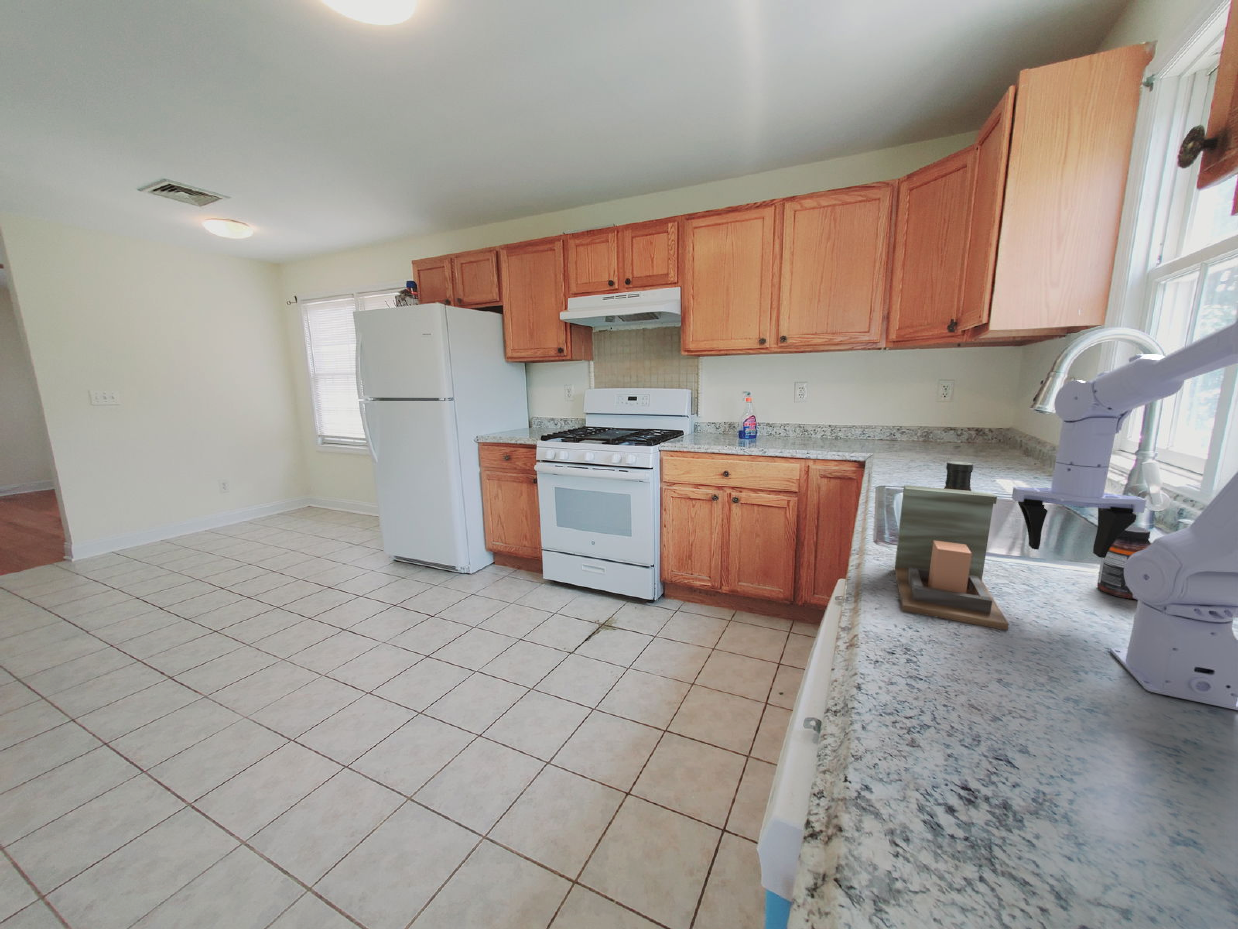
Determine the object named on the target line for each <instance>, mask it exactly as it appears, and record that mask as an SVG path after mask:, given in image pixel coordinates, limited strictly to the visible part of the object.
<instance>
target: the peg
mask: <svg viewBox="0 0 1238 929" xmlns="http://www.w3.org/2000/svg"><path fill="white" fill-rule="evenodd" d="M971 555H972V553H971V551H970V550H969V548H968V547H967V545H966V544H959V543H951V542H943V541H935V540H934V541H933V549H932V556H931V564H930V572H929V580H928V587H929V588H935V589H941V590H947V591H953V592H959V593H965V594H966V590H967V583H968V576H969V569H970V562H971Z"/></svg>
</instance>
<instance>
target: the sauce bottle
mask: <svg viewBox="0 0 1238 929" xmlns="http://www.w3.org/2000/svg"><path fill="white" fill-rule="evenodd" d="M945 469H946V477H945V478H946V480H945V485H944V487H943V489H954V490H965V491H972V488H971V479H972V473H973V470H974V464H973V463H971V462H967V461H966V462H965V461H947V462H946V467H945Z"/></svg>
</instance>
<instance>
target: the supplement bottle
mask: <svg viewBox="0 0 1238 929" xmlns="http://www.w3.org/2000/svg"><path fill="white" fill-rule="evenodd" d="M1150 537H1151V531H1150V530H1149V529H1148V528H1145V527H1141V526H1136V525H1132V524H1131V525H1130V526H1129V527H1128V528H1127V529H1125V530H1124V531H1123V532H1122V533H1121V534H1120V536H1119V537H1118V538H1117V539H1116V540H1115V542H1114V543H1113V545H1112V546H1111V548H1110V549H1109V551H1108V553H1107V555H1106V557H1105V558H1101V557H1100V564H1099V572H1098V577H1097V585H1096V586H1097V588H1098V590H1100V591H1103V592H1104V593H1106V592H1107V593H1106V594H1108V593H1109V595H1111V596H1115V597H1118V598H1124V599H1128V600H1136V599H1135V598H1133V593H1132V592H1131V591H1130V590H1129V588H1128V586H1127V584H1126V582H1125V578H1124V566H1125V563H1126V561H1127V559H1128V558H1129V557H1130V556H1131V555H1132V554H1134V553H1135V552H1138V551H1141V550H1144V549H1146V548H1147V547H1149V546H1150V545H1151V544H1152V542H1151V541H1150Z"/></svg>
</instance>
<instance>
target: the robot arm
mask: <svg viewBox="0 0 1238 929" xmlns="http://www.w3.org/2000/svg"><path fill="white" fill-rule="evenodd" d="M1235 364H1238V317H1237V318H1236V320H1234V321H1232V322H1229V323H1228V324H1226V325H1224V326H1223V327H1220V328H1219V329H1216V330H1215V331H1212V332H1211V333H1210V332H1209V334H1207V335H1205V336H1203V337H1201V338H1198V339H1196V340H1195V341H1192V342H1191V343H1189V344H1187V345H1185V346H1183V347H1181V348H1179V349H1177V350H1174V351H1173V352H1171V353H1169V354H1167V355H1162V354H1161V355H1160V354H1135V355H1133V356H1131V357H1129V358H1128V363H1125V364H1122V366H1119V367H1116V368H1114V369H1112V370H1110V371H1103V372H1100V373H1098V374H1097V377H1095V378H1092V379H1090V380H1088V381H1084V380H1079V379H1074V380H1072V379H1071V380H1070V381H1068V382H1067V383H1065V384H1064V385H1062V386H1061V387H1060V388H1059V390H1058V391H1057V392H1056V396H1055V398H1054V410H1055V413H1056V415H1057V416H1058V418H1060V419H1061V420H1062V422H1061V428H1060V432H1059V433H1060V434H1059V440H1058V446H1057V451H1056V458H1055V464H1054V468H1053V474H1052V479H1051V480H1052V481H1051V486H1050V487H1028V486H1027V487H1024V486H1013V487H1012V494H1011V499H1012V500H1014V501H1015V502H1017V503H1018V506H1019V508H1020V510H1021V513H1022V515H1023V518H1024V522H1025V526H1026V531H1027V535H1028V537H1027V538H1028V546H1029V547H1030V549H1032V550H1037V551H1038V550H1039V549H1040V546H1041V540H1042V530H1043V527H1044V523H1045V520H1046V516H1047V514H1048V510H1047V508H1045V506H1046V505H1045V504H1055V505H1064V506H1073V507H1074V506H1076V507H1085V508H1097V527H1096V528H1097V529H1096V533H1095V539H1094V541H1093V542H1094V543H1093V550H1092V553H1093V554H1094V555H1095V556H1096V557H1097V558H1100V559H1101V558H1105V557H1106V555H1107V553H1108V551H1109V549H1110V548H1111V546H1112V545H1113V543H1114V542H1115V540H1116V539H1117V538H1118V537H1119V536H1120V534H1121V533H1122V532H1123V531H1124V530H1125V529H1127V528H1128V527H1129V526H1130V525H1131V526H1132V525H1133V524H1134V523H1135V522H1136V520H1137V516H1138V515H1137V514H1135V513H1141V514H1143V513H1144V512H1145V508H1146V504H1147V499H1145V498H1143V497H1141V496H1135V495H1125V494H1115V493H1107V492H1105V490H1106V485H1107V478H1108V474H1109V468H1110V464H1111V458H1112V453H1113V447H1114V444H1115V443H1114V441H1115V437H1116V435H1117V434H1120V433H1119V432H1120V431H1122V429H1123V428H1122V427H1123V424H1124V421H1125V419H1127V418H1128V416H1130V415H1131V413H1132V412H1133V411H1134V409H1137V408H1139V407H1143V406H1145V405H1148V404H1150V403H1154V402H1157V401H1159V400H1162V399H1165V398H1168V397H1171V396H1172V395H1175V394H1177V393H1178V392H1179V391H1180V390H1181V389H1182V387H1183V385H1184V382H1185V381H1187V380H1189V379H1192V378H1195V377H1198V376H1201V375H1204V374H1208V373H1211V372H1214V371H1216V370H1219V369H1222V368H1225V367H1229V366H1232V365H1235ZM1151 543H1152V544H1151V545H1150V546H1149V547H1147V548H1146V549H1144V550H1141V551H1138V552H1135V553H1134V554H1132V555H1131V556H1130V557H1129V558H1128V559H1127V561H1126V563H1125V566H1124V578H1125V582H1126V584H1127V586H1128V588H1129V590H1130V591H1131V592H1132V593H1133V598H1135V599H1134V600H1137V605H1136V608H1135V609H1136V610H1135V614H1134V619H1133V622H1132V623H1133V624H1132V627H1131V633H1130V638H1129V640H1128V641H1129V642H1128V647H1127V649H1124V648H1118V647H1110V648H1109V651H1110V652H1111V654H1112V655H1113V656H1114V657H1115V658H1116V659H1117V660H1118V661H1119V662H1120V664H1122V666H1123V667H1124V668H1125V669H1126V670H1127V671H1128V672H1129V673H1130V674H1131V675H1132V676H1133V678H1135V680H1136V681H1137V682H1138V683H1139V684H1140V685H1141V686H1142V687H1143V688H1144V689H1145V690H1146V691H1148V692H1151V693H1154V694H1159V695H1164V696H1169V697H1173V698H1178V699H1183V700H1187V701H1192V702H1198V703H1203V704H1207V705H1211V706H1212V705H1213V706H1215V707H1220V708H1221V707H1222V708H1226V709H1230V710H1236V711H1238V639H1237V637H1236V635H1235V634H1234V631H1233V622H1234V620H1235V619H1237V618H1238V471H1237V472H1236V473H1235V474H1234V475H1233V476H1232V477H1231V478H1230V479H1229V481H1228V482H1227V483H1226V484H1225V485H1224V487H1223V488H1222V489H1221V490H1219V492H1218V494H1217V495H1215V497H1213V499H1212V500H1211V501H1210V503H1209V504H1208V505H1207V506H1206V507H1205V508H1204V509H1203V511H1202V512H1201V513H1200V514H1199V515H1198V517H1197V518H1196V519H1195V520H1194V521H1193V522H1192V523H1191V524H1190V526H1188V527H1185V528H1183V529H1180V530H1176V531H1174V532H1170V533H1168V534H1165V535H1161V536H1160V537H1157V538H1155V539H1153V541H1152V542H1151Z"/></svg>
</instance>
